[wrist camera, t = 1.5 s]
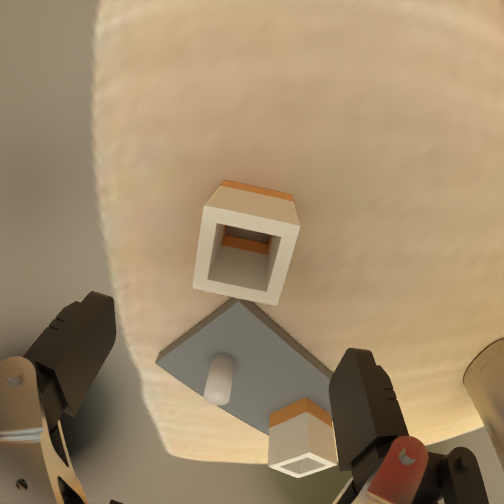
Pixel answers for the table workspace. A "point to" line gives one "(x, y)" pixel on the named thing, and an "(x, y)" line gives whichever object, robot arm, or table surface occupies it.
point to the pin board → (260, 383)
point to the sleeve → (246, 243)
